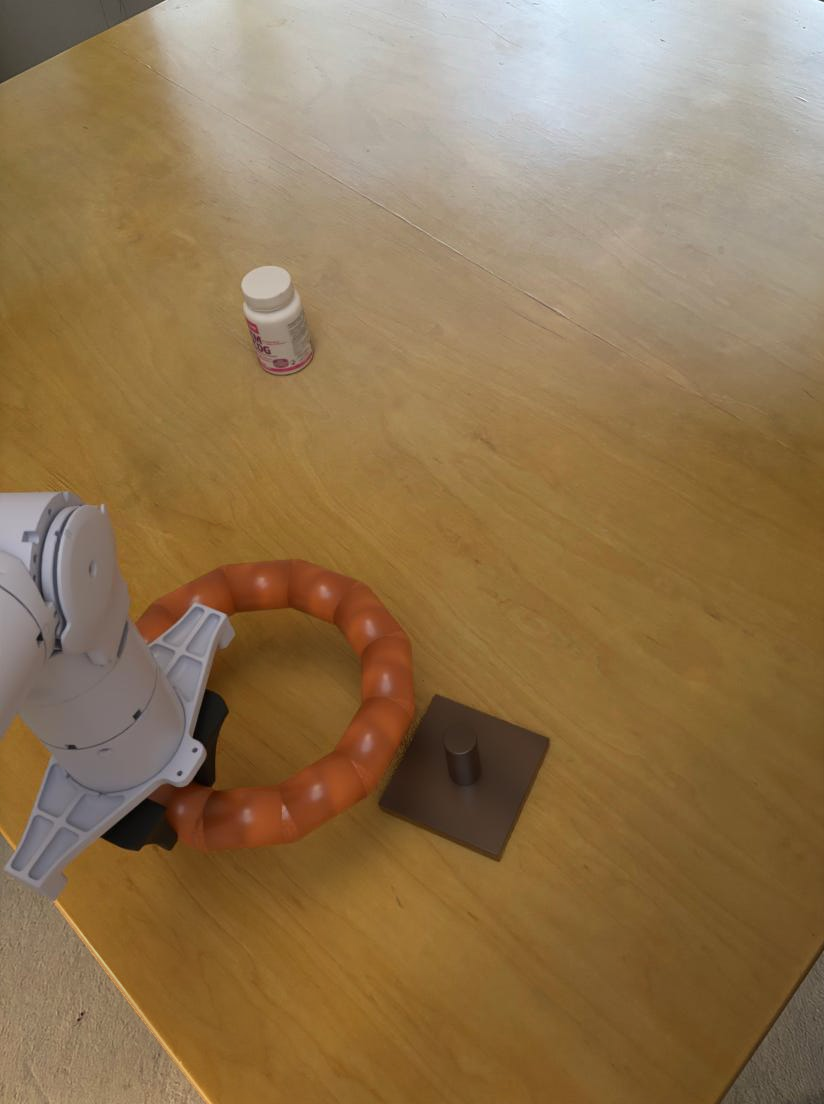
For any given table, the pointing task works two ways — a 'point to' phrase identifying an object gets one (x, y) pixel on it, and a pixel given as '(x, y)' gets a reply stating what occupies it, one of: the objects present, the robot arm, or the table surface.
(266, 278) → the pill bottle
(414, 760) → the square peg base
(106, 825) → the robot arm
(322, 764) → the ring
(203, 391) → the table surface
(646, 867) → the table surface
